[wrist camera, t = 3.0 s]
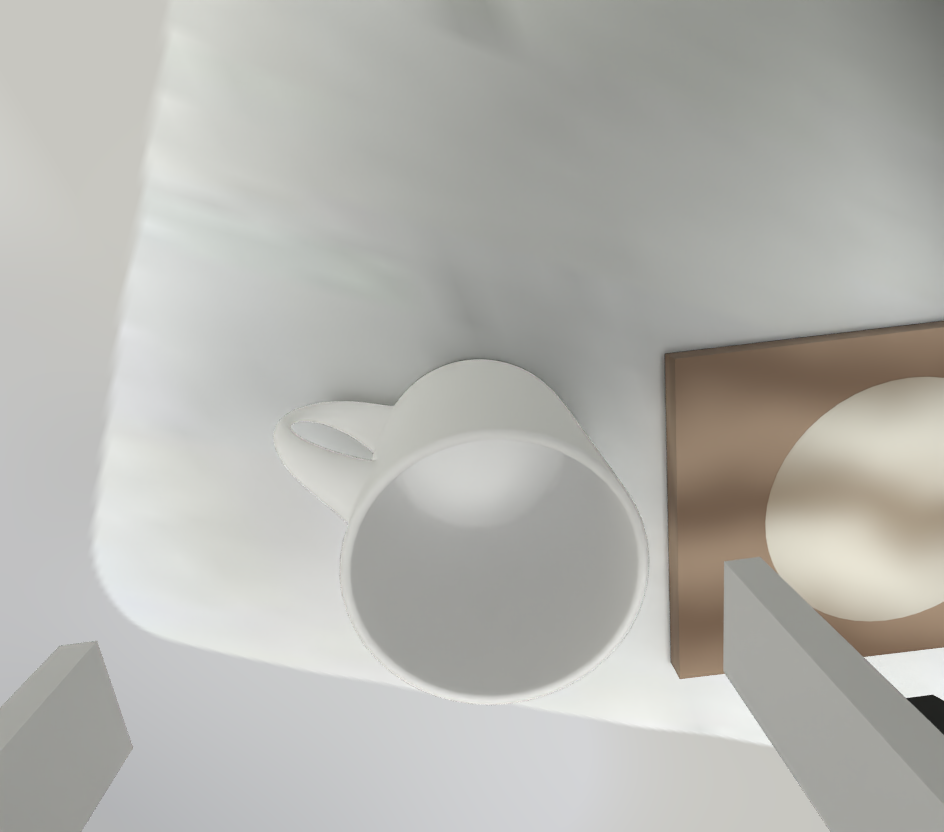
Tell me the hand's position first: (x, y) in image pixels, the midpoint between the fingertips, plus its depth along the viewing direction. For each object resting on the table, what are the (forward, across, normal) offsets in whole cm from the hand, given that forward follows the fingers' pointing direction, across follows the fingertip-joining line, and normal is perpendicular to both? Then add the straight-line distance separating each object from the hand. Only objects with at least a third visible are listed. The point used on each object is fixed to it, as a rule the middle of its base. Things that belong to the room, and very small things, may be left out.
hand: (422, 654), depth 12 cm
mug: (+15, 0, 0) cm, 15 cm away
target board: (+14, +20, -5) cm, 25 cm away
